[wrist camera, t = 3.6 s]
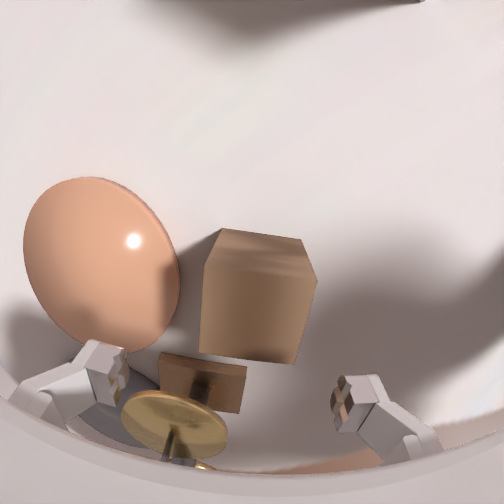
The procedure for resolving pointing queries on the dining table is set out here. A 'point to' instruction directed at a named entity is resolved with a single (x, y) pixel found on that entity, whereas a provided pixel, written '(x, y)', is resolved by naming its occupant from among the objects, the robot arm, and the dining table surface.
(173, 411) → the balance
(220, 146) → the dining table surface
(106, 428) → the charcoal dish
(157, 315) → the terracotta dish
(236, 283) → the walnut block
